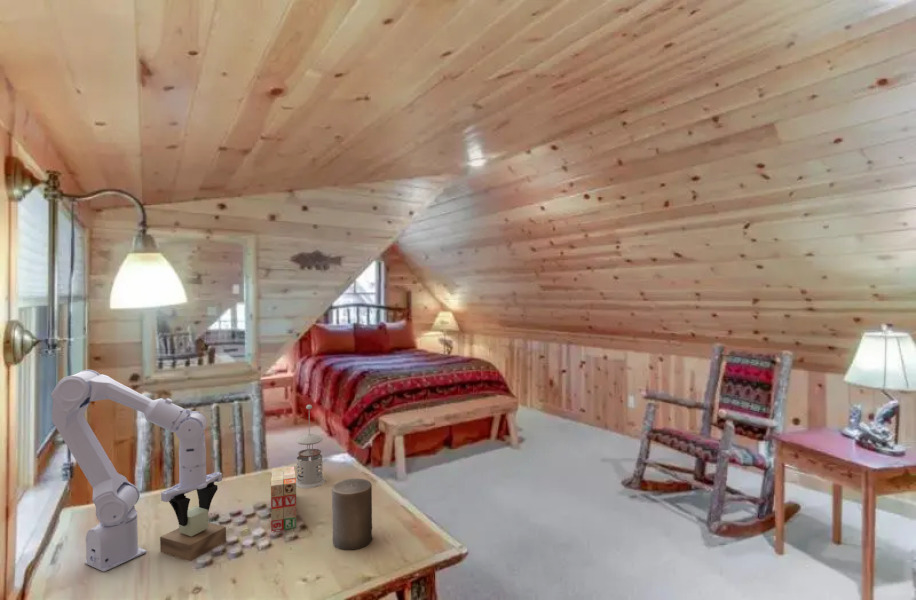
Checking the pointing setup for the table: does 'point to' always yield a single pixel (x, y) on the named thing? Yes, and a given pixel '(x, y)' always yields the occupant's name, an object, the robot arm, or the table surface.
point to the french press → (309, 468)
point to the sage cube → (195, 521)
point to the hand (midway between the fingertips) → (193, 520)
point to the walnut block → (192, 542)
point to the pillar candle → (352, 513)
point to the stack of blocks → (283, 498)
